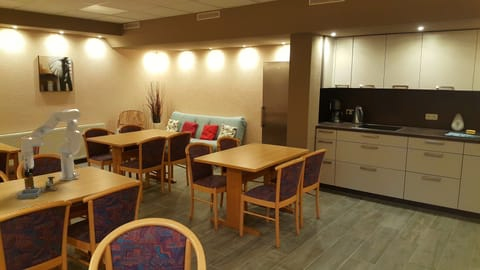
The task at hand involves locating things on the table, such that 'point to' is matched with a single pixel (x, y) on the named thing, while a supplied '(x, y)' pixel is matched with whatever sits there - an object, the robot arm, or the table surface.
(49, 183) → the crank
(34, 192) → the tray
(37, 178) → the table surface
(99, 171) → the table surface
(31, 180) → the condiment
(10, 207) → the table surface
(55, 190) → the crank base
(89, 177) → the table surface
